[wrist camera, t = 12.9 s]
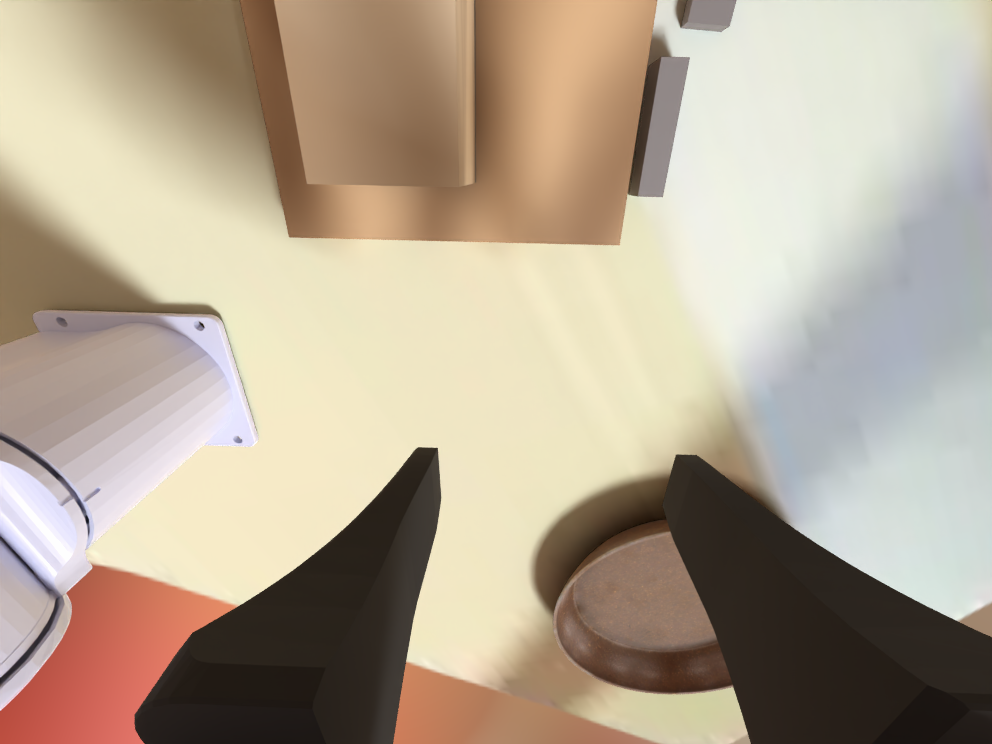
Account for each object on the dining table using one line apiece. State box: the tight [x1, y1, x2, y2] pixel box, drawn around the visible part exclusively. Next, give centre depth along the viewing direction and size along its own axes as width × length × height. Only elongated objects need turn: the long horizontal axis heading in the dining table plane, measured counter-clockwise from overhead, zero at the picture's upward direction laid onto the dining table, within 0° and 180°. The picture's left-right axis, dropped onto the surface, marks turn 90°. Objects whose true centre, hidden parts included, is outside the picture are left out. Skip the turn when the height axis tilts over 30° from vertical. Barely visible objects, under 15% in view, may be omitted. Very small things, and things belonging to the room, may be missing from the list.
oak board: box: [240, 0, 657, 245], centre depth 14 cm, size 14×14×2 cm
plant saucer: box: [553, 519, 733, 694], centre depth 27 cm, size 18×18×3 cm
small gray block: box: [629, 57, 690, 197], centre depth 16 cm, size 2×4×1 cm
